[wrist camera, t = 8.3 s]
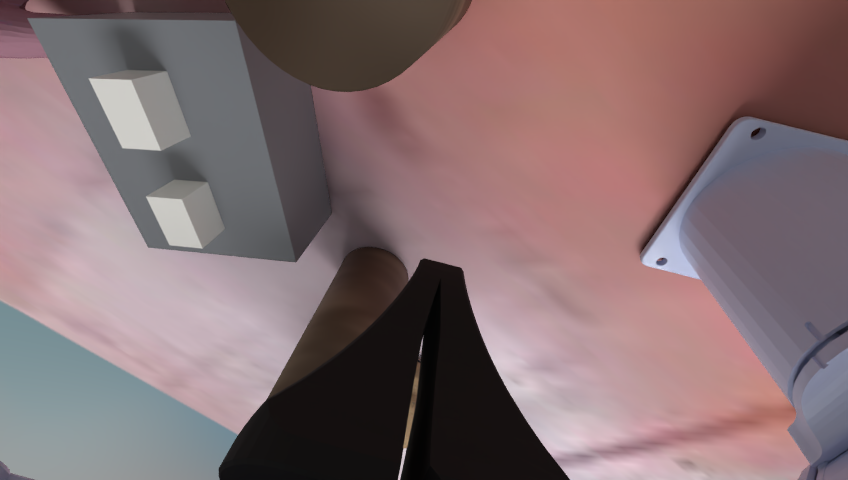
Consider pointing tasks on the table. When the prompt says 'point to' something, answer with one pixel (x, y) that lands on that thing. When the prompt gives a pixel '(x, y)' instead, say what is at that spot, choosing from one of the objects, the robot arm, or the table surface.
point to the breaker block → (195, 130)
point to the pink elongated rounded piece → (19, 31)
